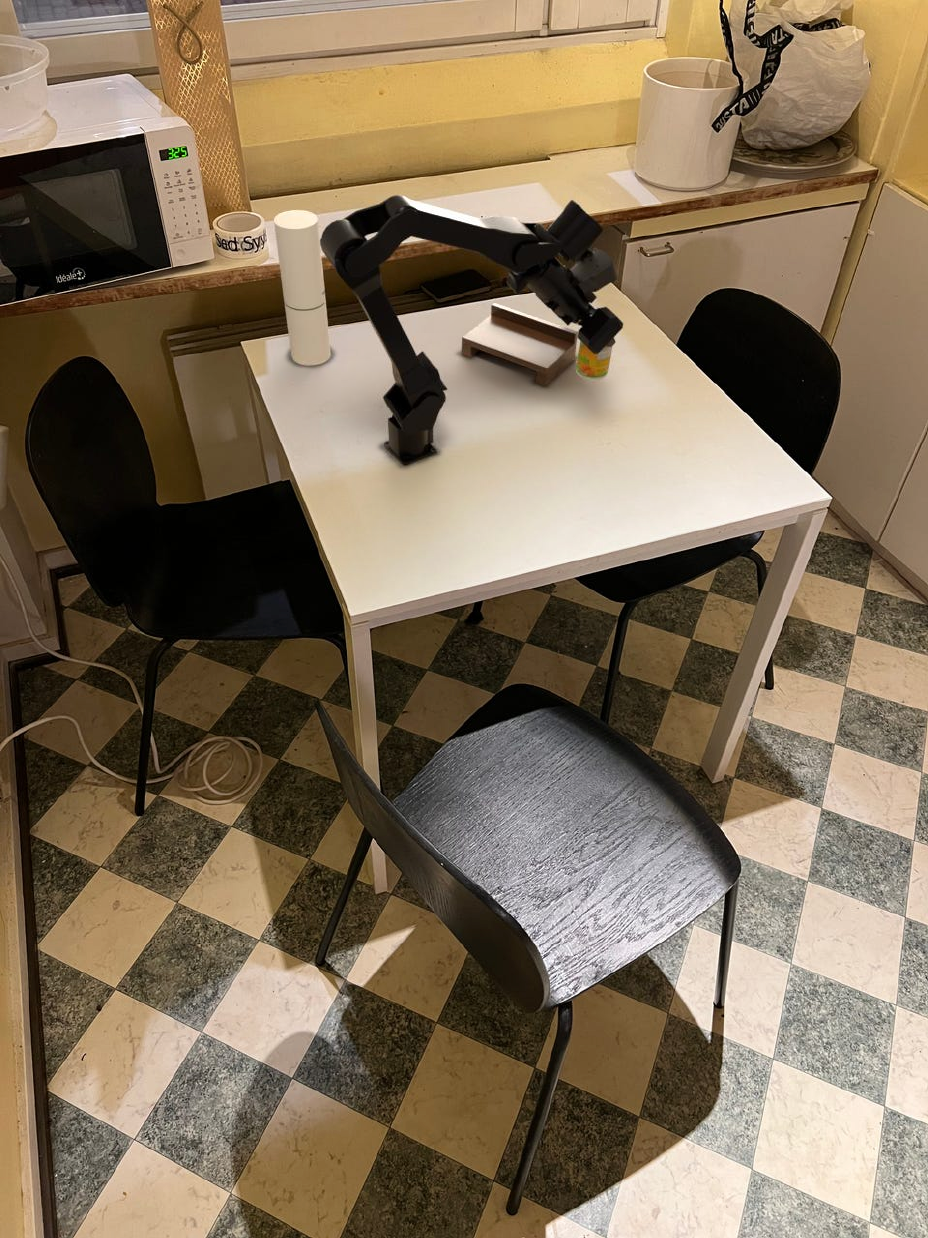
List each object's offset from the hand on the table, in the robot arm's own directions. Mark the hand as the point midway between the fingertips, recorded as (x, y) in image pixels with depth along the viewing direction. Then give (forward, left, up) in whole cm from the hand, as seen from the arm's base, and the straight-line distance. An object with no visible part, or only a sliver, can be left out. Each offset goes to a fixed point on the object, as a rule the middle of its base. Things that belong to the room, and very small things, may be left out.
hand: (604, 335), depth 149 cm
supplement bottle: (-1, 0, -7) cm, 7 cm away
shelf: (-2, +20, -13) cm, 24 cm away
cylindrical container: (-34, +41, -13) cm, 55 cm away
